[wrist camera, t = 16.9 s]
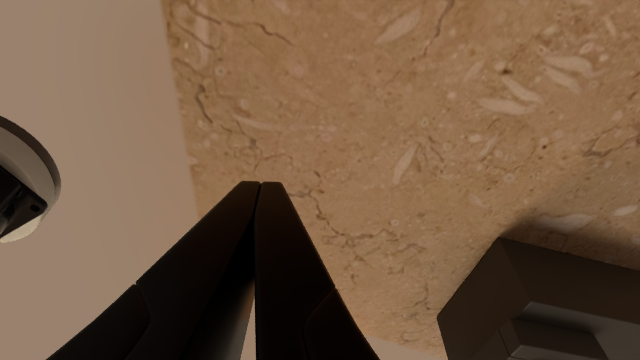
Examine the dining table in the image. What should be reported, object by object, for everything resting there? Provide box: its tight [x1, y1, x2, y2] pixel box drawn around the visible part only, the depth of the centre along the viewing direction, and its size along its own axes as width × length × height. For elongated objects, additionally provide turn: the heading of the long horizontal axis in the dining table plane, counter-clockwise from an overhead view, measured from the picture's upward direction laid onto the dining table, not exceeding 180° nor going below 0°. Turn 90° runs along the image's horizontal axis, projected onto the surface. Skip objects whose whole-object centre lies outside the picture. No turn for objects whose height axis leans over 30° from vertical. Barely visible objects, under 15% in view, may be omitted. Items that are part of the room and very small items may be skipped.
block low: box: [437, 238, 640, 360], centre depth 28 cm, size 12×9×7 cm
